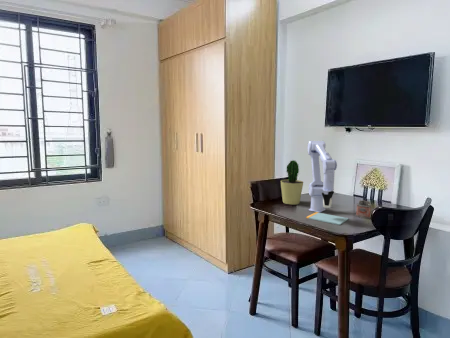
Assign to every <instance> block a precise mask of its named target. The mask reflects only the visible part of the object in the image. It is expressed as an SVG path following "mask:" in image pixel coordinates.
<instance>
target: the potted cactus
mask: <svg viewBox="0 0 450 338" xmlns="http://www.w3.org/2000/svg"><path fill="white" fill-rule="evenodd" d="M299 164H300V163H298V162H297V161H296V160H294V159H292V160H290V161H289V162H288V163H287V164H286V171H285V172H286V174H287V178H288V179H281V180H280V188H281V197H282V202H283V204H286V205H299V204H300V201H301V196H302V191H303V187H304V181H302V180H298V176H299V175H300V167H299Z"/></svg>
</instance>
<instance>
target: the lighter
mask: <svg viewBox="0 0 450 338" xmlns="http://www.w3.org/2000/svg"><path fill="white" fill-rule="evenodd" d="M370 204H371V201H366V200H365V199H363V200H358V203H356V214H355V217H357V218H361V219H368V220H369V219H371V208H372V205H370Z"/></svg>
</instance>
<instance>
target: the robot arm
mask: <svg viewBox="0 0 450 338" xmlns="http://www.w3.org/2000/svg"><path fill="white" fill-rule="evenodd" d="M326 146H327V145H326V141H324V140H309V141H308V143H307V153H308V155H309V156H310V160H311V173H312V181H311V182H310V183H309V184H308V194H309V196H310V208H309V209H308V211H310V212H313V213H315V212H319V213H322V212H324V211H326V208H325V207H323V199H324V204H325V205H327V206H329V202H330V198H332V199H333V195H334V194H335V188H334V186H335V171H337V167H338V163H337V162H338V161H337V160H336V159H333V158H332V156H331V154H330V153H329V152H327V151H326ZM320 162H321V163H322V173H323V181H322V177H321V168H320V166H321V165H320Z"/></svg>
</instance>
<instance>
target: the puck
mask: <svg viewBox="0 0 450 338" xmlns="http://www.w3.org/2000/svg"><path fill="white" fill-rule="evenodd" d="M332 199H333V197H332V198H330V202H329V206H327V205H325V204H324V199H323V207H325V208H324V209H326V208H327V209H331V208H332V202H333V201H332Z"/></svg>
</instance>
